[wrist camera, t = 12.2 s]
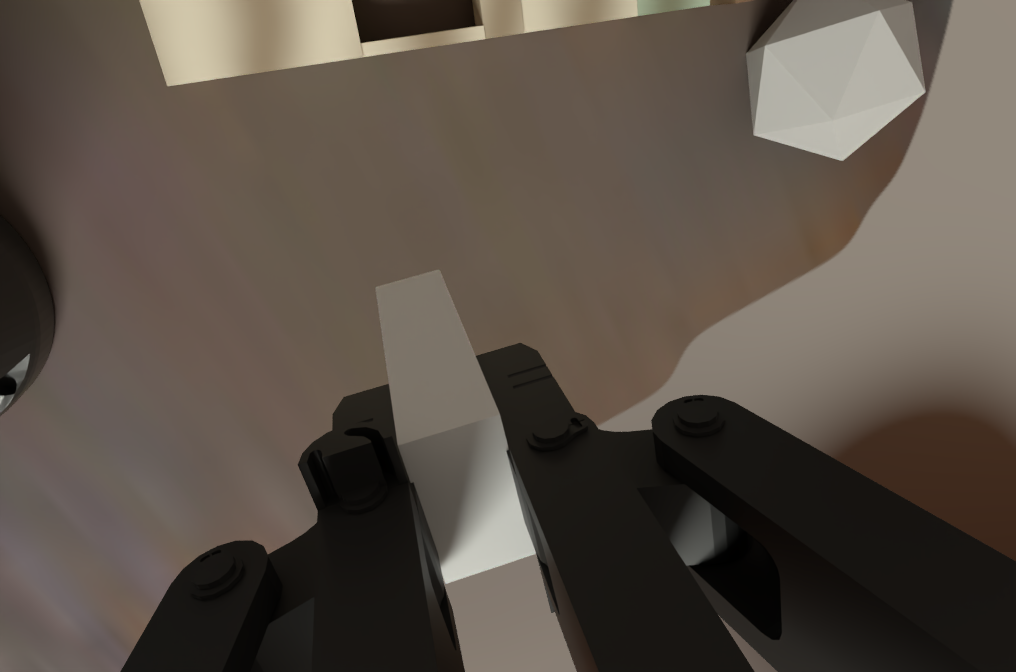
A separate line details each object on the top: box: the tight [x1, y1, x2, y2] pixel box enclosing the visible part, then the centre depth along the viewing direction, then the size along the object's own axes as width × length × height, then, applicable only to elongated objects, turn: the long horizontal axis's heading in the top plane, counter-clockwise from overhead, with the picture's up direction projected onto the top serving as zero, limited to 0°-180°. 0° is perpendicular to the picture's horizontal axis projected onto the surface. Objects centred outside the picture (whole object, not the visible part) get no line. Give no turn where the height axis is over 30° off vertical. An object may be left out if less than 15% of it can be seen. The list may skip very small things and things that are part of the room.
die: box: [746, 0, 926, 161], centre depth 36 cm, size 8×9×10 cm
